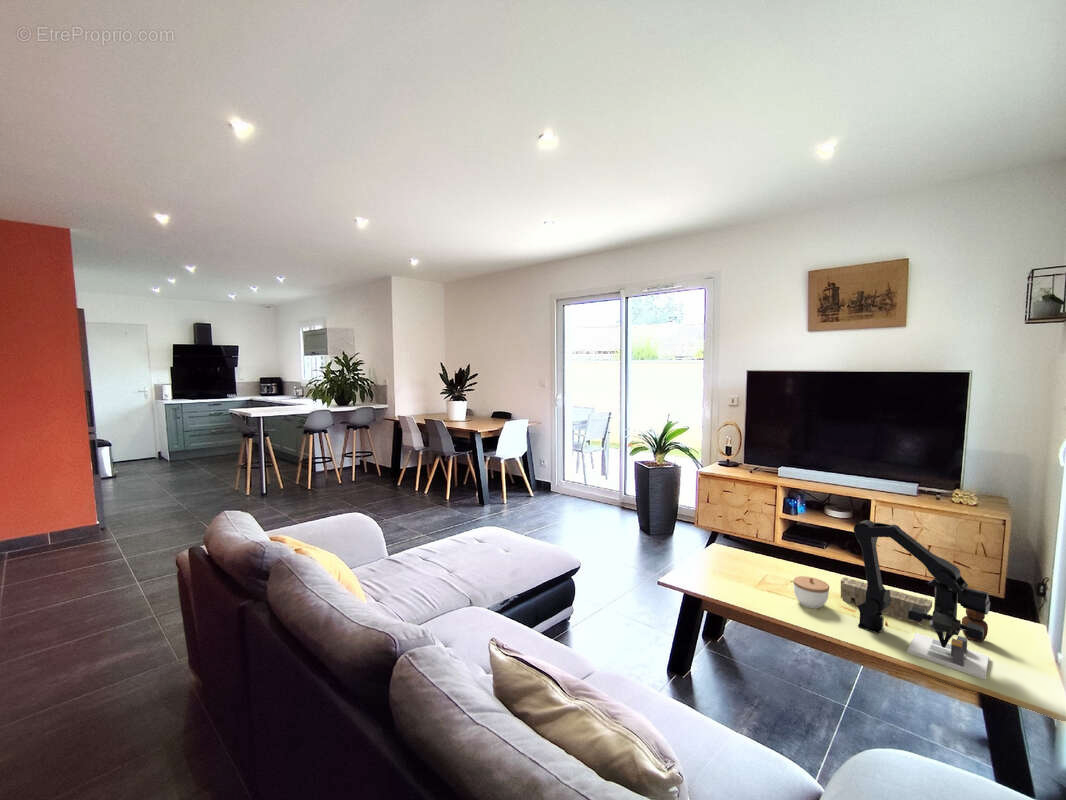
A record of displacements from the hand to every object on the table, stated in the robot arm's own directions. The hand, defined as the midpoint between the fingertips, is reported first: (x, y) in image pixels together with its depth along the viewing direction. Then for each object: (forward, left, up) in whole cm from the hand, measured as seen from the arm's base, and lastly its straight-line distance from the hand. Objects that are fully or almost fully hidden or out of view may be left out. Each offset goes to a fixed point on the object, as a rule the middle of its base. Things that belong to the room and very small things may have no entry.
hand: (943, 647), depth 157 cm
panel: (+1, 0, -3) cm, 3 cm away
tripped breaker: (+3, 0, -1) cm, 3 cm away
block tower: (-21, +23, -3) cm, 31 cm away
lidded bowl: (-42, +6, -3) cm, 42 cm away
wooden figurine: (+6, +21, -3) cm, 22 cm away
